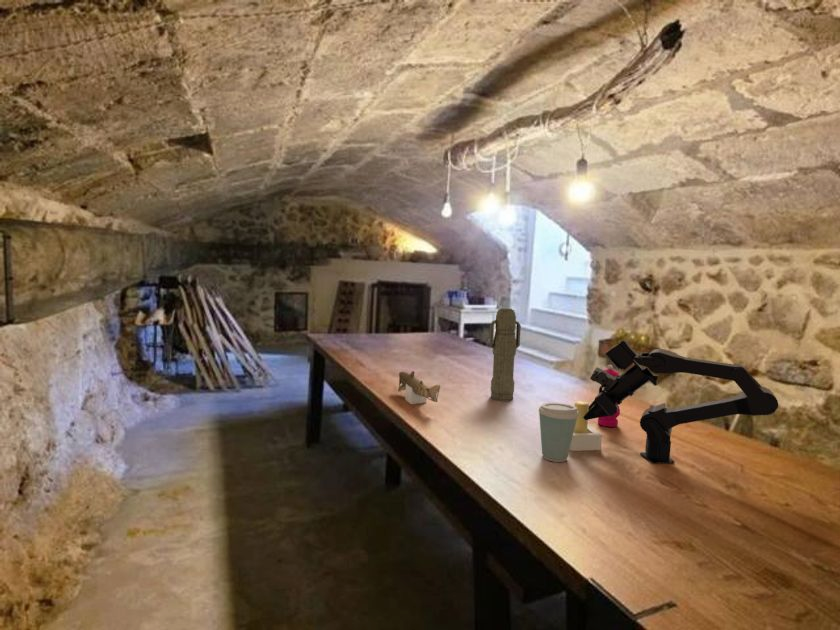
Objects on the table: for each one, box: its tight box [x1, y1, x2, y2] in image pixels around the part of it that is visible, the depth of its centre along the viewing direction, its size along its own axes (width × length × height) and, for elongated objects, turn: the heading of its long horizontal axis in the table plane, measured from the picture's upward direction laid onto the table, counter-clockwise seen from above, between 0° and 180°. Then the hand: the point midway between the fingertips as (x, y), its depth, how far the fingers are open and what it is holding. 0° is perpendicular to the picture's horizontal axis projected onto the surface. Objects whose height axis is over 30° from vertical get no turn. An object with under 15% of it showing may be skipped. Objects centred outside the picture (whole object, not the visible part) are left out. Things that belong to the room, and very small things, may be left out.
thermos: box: [489, 307, 522, 402], centre depth 191 cm, size 9×12×35 cm
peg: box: [574, 400, 590, 433], centre depth 145 cm, size 4×4×12 cm
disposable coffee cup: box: [538, 402, 579, 463], centre depth 135 cm, size 11×11×15 cm
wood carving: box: [397, 370, 441, 405], centre depth 182 cm, size 9×35×11 cm, turn 23°
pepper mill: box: [597, 364, 621, 428], centre depth 163 cm, size 7×7×20 cm
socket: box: [569, 424, 603, 452], centre depth 146 cm, size 9×9×4 cm
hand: (586, 414), depth 144 cm, fingers open, 9 cm apart
